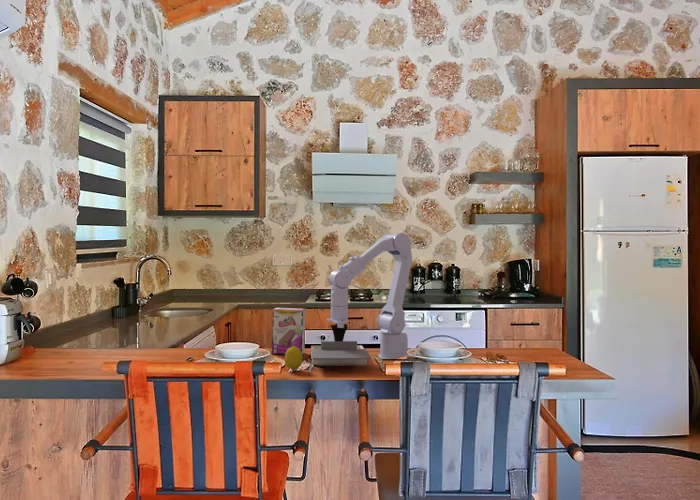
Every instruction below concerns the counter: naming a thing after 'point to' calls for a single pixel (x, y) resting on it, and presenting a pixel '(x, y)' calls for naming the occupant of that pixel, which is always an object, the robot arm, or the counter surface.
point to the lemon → (293, 358)
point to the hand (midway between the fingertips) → (338, 346)
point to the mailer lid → (340, 351)
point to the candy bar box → (288, 329)
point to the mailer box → (337, 362)
